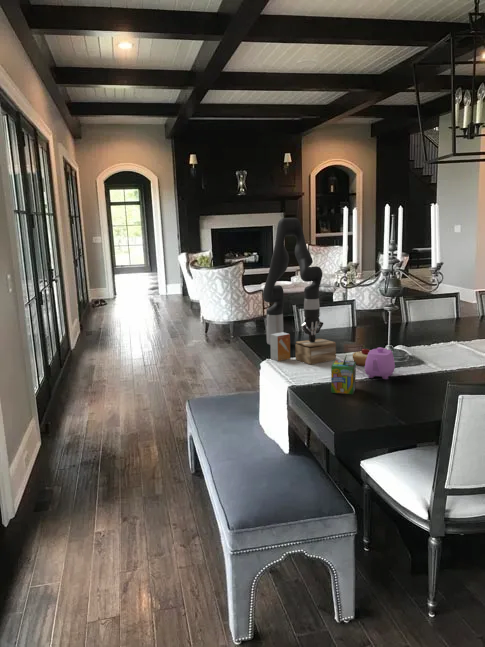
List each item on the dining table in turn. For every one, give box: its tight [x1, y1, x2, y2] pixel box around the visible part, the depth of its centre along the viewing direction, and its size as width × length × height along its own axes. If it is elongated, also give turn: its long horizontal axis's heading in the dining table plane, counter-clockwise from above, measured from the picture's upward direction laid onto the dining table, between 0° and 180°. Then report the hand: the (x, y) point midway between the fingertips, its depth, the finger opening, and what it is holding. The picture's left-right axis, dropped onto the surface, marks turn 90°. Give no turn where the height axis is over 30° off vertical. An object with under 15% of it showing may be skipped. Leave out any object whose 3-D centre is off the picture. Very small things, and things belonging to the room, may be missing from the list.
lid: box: [295, 337, 336, 347], centre depth 262 cm, size 12×16×1 cm
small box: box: [269, 331, 291, 362], centre depth 267 cm, size 8×6×13 cm
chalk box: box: [330, 354, 357, 395], centre depth 214 cm, size 9×9×15 cm
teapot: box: [364, 346, 396, 380], centre depth 232 cm, size 20×12×13 cm, turn 153°
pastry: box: [352, 345, 371, 367], centre depth 253 cm, size 12×12×9 cm
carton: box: [294, 343, 337, 365], centre depth 263 cm, size 12×16×8 cm
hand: (312, 342), depth 261 cm, fingers closed
